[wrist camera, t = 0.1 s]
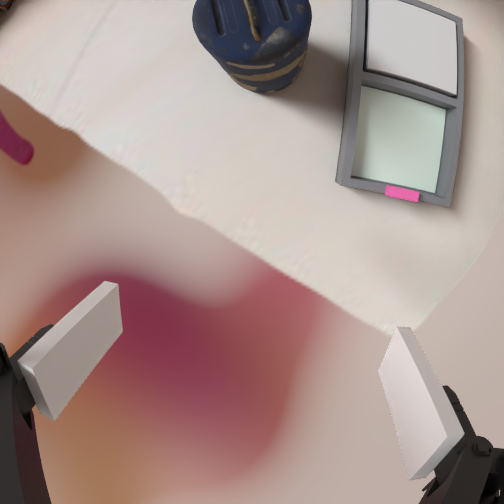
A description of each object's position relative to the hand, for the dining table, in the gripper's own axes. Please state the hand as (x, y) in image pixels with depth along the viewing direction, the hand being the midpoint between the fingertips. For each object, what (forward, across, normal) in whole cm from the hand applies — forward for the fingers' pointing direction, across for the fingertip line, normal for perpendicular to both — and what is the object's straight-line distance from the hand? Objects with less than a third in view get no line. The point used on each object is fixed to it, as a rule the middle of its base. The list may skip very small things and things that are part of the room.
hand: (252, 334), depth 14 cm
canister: (+28, -4, +19) cm, 34 cm away
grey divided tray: (+28, +14, +18) cm, 36 cm away
